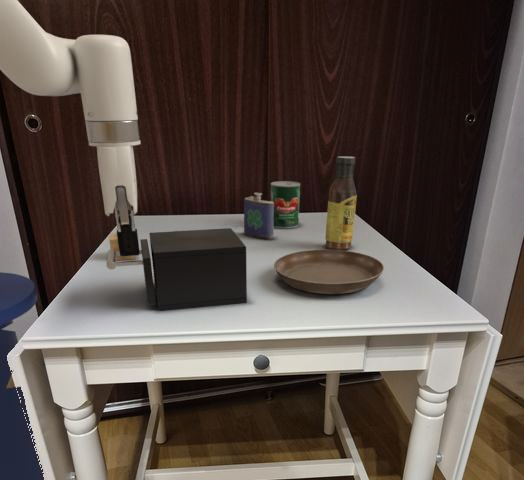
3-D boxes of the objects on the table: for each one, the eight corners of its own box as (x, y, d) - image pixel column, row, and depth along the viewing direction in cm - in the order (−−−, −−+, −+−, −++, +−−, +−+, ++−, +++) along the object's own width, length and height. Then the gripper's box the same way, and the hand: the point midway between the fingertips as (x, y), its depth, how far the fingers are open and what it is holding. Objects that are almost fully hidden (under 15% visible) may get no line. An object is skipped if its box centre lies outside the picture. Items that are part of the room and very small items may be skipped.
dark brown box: (159, 310, 80) (153, 252, 75) (154, 284, 90) (149, 232, 86) (246, 302, 83) (246, 246, 78) (232, 278, 94) (230, 227, 89)
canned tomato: (280, 230, 128) (281, 186, 123) (264, 224, 134) (264, 182, 129) (304, 226, 132) (306, 184, 127) (287, 220, 138) (289, 180, 132)
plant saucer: (261, 293, 87) (261, 275, 85) (286, 260, 104) (287, 245, 103) (378, 305, 82) (380, 287, 80) (384, 268, 100) (386, 253, 98)
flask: (275, 238, 120) (276, 194, 115) (267, 240, 118) (268, 195, 113) (248, 232, 126) (247, 189, 121) (240, 234, 124) (239, 191, 119)
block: (112, 260, 104) (109, 239, 101) (112, 254, 107) (109, 234, 105) (134, 259, 105) (131, 238, 102) (133, 253, 108) (131, 232, 106)
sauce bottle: (345, 252, 110) (353, 159, 100) (320, 248, 113) (325, 157, 103) (356, 246, 115) (364, 156, 105) (331, 242, 118) (338, 154, 108)
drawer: (112, 308, 78) (104, 260, 74) (113, 284, 88) (106, 241, 84) (229, 297, 82) (228, 252, 79) (217, 275, 92) (216, 234, 89)
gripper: (90, 131, 77) (107, 244, 86) (84, 138, 65) (105, 270, 73) (138, 130, 79) (150, 241, 88) (141, 137, 66) (155, 266, 75)
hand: (130, 254), depth 80 cm, fingers closed
